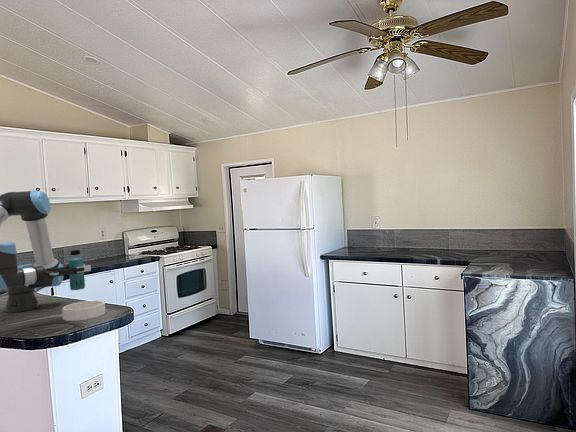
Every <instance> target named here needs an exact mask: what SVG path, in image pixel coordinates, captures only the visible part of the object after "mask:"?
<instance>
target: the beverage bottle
mask: <svg viewBox="0 0 576 432" xmlns="http://www.w3.org/2000/svg"><path fill="white" fill-rule="evenodd" d="M78 255H81V250H79V249H75V250H74V249H73V250H70V256H74V257H70V258H69V259H68V265H69V268H75V267H80V266H83V264H84V258H83V257H81V256H78ZM75 256H76V257H75ZM68 276H69V290H70V291H80V290H83V289H85V287H86V282H85V281H86V280H85V279H86V278H85V272H80V273H77V275H76V274H70V275H68Z"/></svg>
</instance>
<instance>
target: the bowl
mask: <svg viewBox="0 0 576 432" xmlns="http://www.w3.org/2000/svg"><path fill="white" fill-rule="evenodd" d="M61 313H62V317H61V318H62V321H66V322H77V321H86V320H91V319H94V318H95V319H96V318H99V317H101V316H102V315H103V316H104V315H105V313H106V303H105V301H103V300H86V301H85V300H84V301H79V302H74V303H71V304H67V305H64V306H63V307H61Z"/></svg>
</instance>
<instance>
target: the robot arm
mask: <svg viewBox="0 0 576 432" xmlns="http://www.w3.org/2000/svg"><path fill="white" fill-rule="evenodd" d="M51 209H52V208H51V201H50V199H49V196H48V195H47V194H46V192H44V191H41V190H27V191H9V192H5V193H3V194H0V227H2V224H3V222H5V221H7V219H8V218H9V217H13V216H20V218H21V221H22V222H25V225H26V229H27V232H28V236H29V242H30V244H31V245H30V246H31V248H32V253H33V257H34V261H35V262H34V263H33V265H32V263H26V264H21V265H18V252H17V245H16V244H15V242H11V241H10V242H0V290H7V300H6V303H5V307H4V310H5V313H20V312H26V311H31V310H35V309H36V308H39V307H40V304H39V302H40V301H39V300H38V298H37V296H36V294H35V289H39V288H49V287H51V288H52V287H57V286H60V285H61V284H62V283H63V280H64V276H67V275H68V276H69V275H70V274H76V275H77V273H80V272H84V273H86V272H91V271H92V266H91V264H89V265H86V264H85V263H83V266H80V267H75V268H69V264H67V265H66V266H64V264H62V263H59V260H58V259H57V258H55V257H54V252H53V247H52V244H51V243H52V242H51V239H50V234H49V231H48V230H49V229H48V226H47V221H46V218H47V217H49V213H50V212H51Z"/></svg>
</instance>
